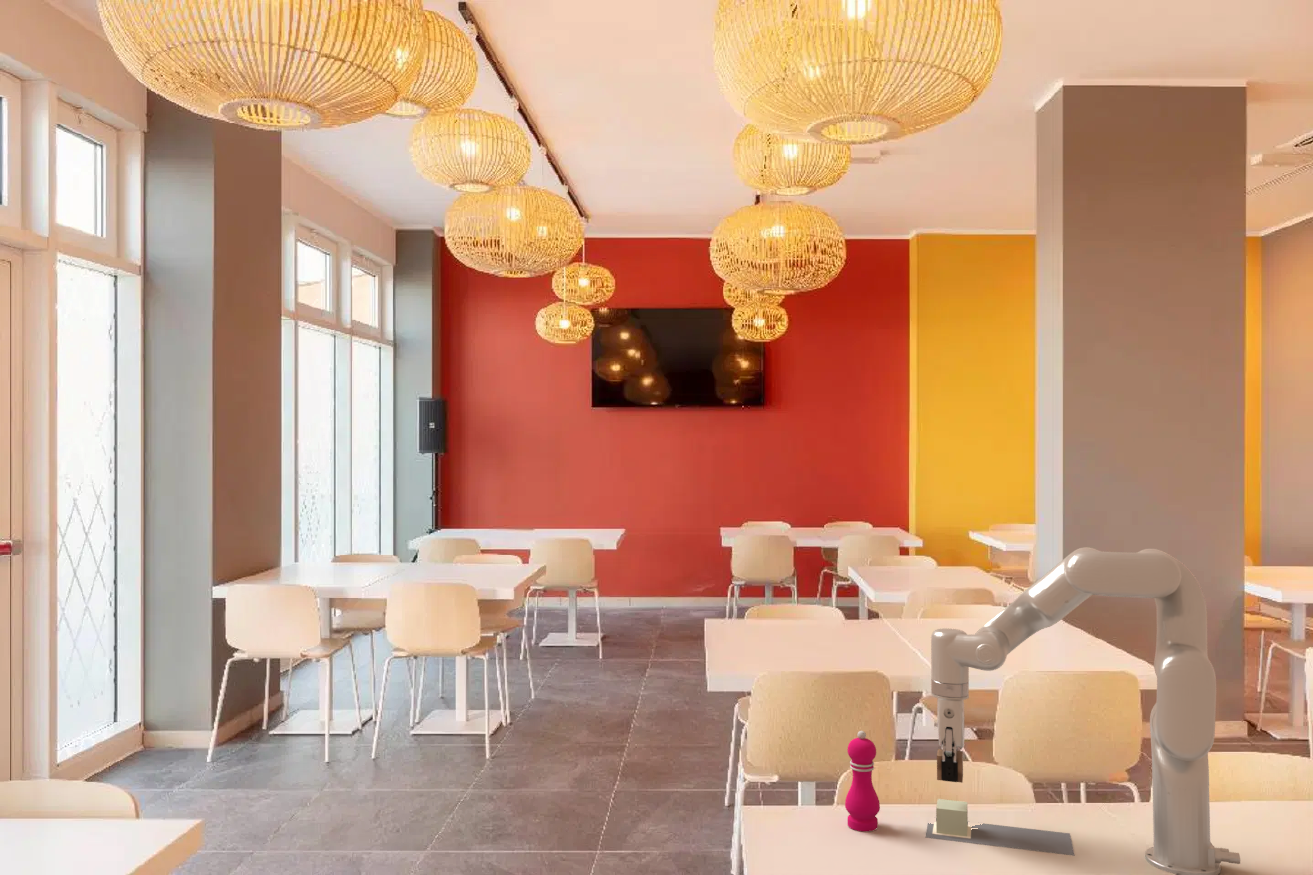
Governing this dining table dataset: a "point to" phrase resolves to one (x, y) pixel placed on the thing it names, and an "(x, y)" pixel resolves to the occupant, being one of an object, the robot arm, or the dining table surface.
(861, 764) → the pepper mill
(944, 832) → the sage block
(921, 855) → the dining table surface
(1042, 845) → the build mat
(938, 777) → the walnut cube
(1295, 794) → the dining table surface
